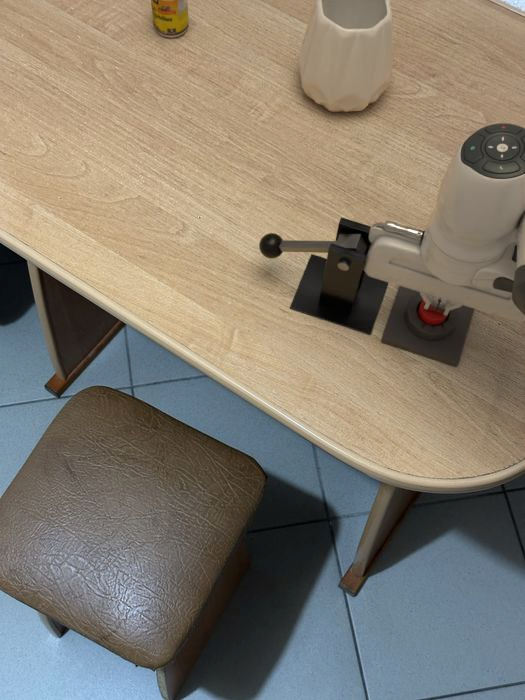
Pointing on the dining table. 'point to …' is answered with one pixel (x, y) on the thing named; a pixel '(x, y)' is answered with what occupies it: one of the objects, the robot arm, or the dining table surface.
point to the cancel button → (430, 316)
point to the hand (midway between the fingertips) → (436, 307)
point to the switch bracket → (341, 285)
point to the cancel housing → (426, 329)
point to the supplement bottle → (170, 17)
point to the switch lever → (307, 245)
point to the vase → (347, 53)
